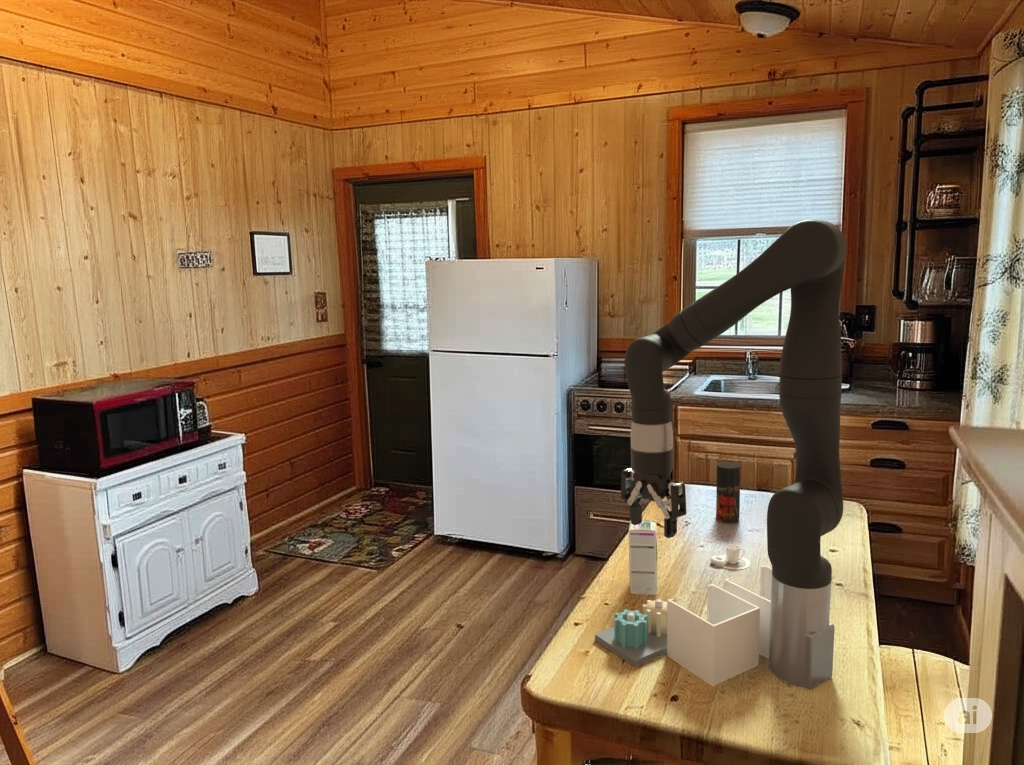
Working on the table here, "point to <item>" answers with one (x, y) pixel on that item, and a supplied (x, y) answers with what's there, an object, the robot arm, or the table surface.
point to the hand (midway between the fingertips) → (652, 530)
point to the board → (655, 635)
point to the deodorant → (728, 492)
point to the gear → (630, 629)
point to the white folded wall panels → (722, 631)
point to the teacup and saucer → (730, 557)
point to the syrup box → (643, 558)
